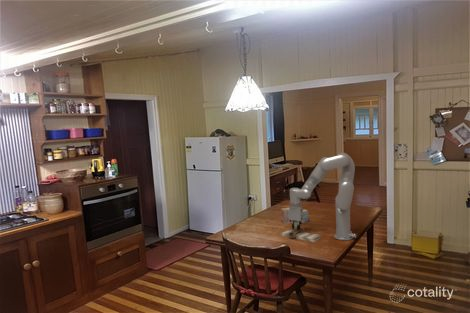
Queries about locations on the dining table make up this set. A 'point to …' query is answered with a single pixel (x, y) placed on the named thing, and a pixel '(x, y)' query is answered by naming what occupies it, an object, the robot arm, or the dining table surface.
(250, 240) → the dining table surface
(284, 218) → the stack of blocks
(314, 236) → the birch board
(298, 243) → the dining table surface
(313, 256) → the dining table surface
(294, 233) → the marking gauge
